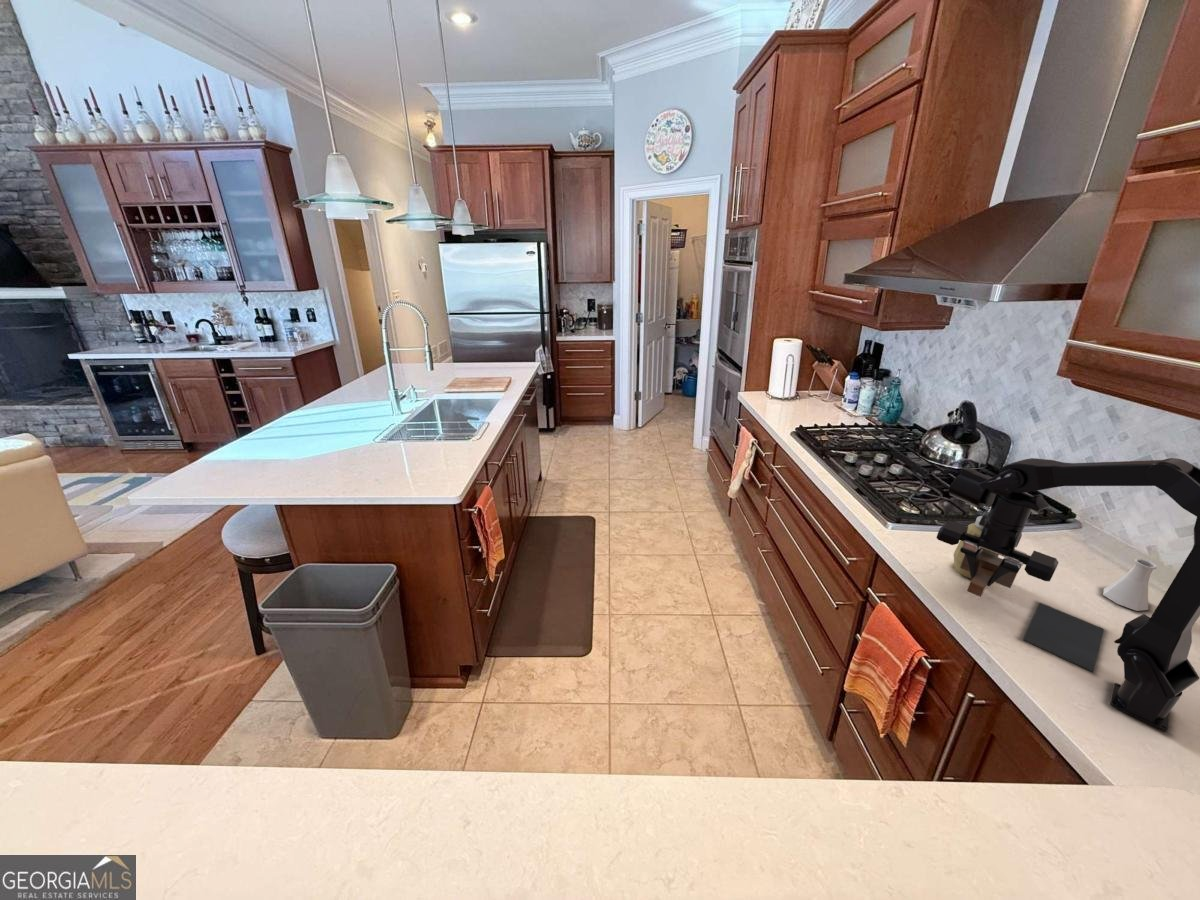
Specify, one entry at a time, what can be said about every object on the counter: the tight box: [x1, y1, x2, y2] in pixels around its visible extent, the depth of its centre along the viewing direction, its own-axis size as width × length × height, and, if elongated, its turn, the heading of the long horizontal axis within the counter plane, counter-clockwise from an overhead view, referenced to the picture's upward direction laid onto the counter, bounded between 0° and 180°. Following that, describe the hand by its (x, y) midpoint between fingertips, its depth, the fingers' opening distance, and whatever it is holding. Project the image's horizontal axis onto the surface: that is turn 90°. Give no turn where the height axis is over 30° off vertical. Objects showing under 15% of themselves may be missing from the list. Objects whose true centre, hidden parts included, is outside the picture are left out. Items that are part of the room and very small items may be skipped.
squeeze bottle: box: [953, 507, 1000, 579], centre depth 108 cm, size 8×8×18 cm
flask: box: [1102, 558, 1158, 612], centre depth 101 cm, size 7×7×10 cm
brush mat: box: [1022, 602, 1104, 673], centre depth 94 cm, size 16×10×1 cm, turn 130°
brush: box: [960, 551, 1018, 598], centre depth 100 cm, size 13×9×4 cm
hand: (980, 582), depth 99 cm, fingers closed on brush, 2 cm apart
